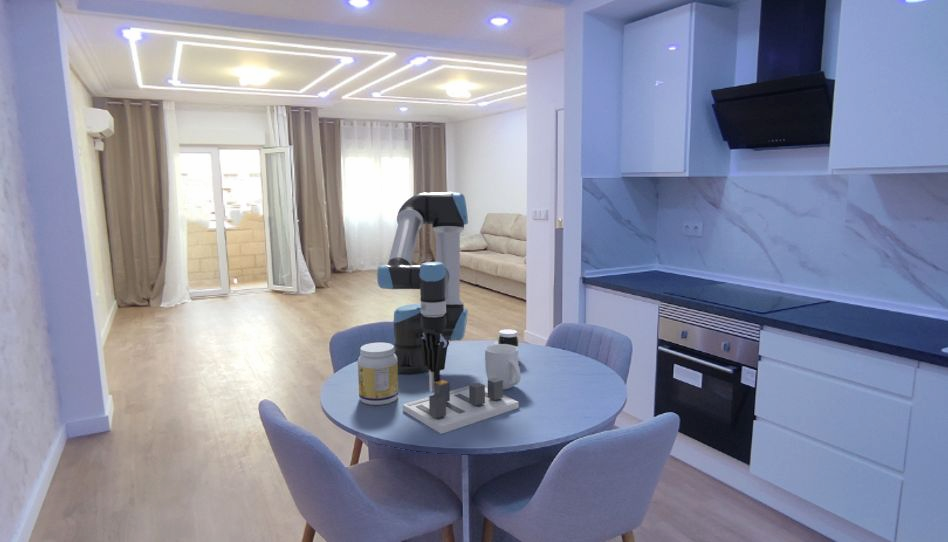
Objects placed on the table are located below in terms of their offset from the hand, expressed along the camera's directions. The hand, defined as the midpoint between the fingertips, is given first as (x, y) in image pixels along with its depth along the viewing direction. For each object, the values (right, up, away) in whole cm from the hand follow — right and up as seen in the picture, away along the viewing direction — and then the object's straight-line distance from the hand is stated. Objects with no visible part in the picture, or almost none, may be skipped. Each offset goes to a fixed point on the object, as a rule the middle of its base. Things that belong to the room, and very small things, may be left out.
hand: (434, 390), depth 166 cm
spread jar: (+23, +2, +44) cm, 50 cm away
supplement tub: (-18, -4, +6) cm, 19 cm away
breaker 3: (+13, -3, -4) cm, 14 cm away
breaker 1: (+2, -2, -2) cm, 4 cm away
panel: (+8, -5, -3) cm, 10 cm away
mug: (+22, -2, +15) cm, 27 cm away
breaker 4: (+18, -2, 0) cm, 18 cm away
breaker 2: (+2, -4, -13) cm, 14 cm away
